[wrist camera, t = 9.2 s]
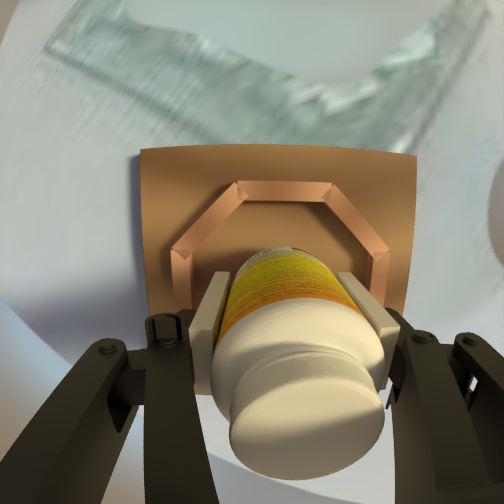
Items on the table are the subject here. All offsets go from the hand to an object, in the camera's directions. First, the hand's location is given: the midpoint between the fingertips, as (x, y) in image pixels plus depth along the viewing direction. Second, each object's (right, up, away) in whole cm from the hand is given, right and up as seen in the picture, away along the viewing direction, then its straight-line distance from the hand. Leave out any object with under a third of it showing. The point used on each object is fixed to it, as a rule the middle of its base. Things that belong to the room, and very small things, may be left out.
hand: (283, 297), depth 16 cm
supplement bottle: (0, 0, +1) cm, 1 cm away
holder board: (0, +1, +3) cm, 3 cm away
